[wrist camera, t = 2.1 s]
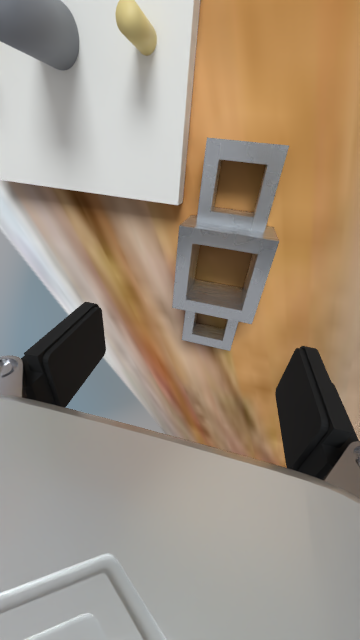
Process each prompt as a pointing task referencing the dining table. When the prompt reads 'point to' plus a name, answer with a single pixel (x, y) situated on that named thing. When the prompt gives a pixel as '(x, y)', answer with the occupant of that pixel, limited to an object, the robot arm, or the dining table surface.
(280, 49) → the dining table surface
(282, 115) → the dining table surface
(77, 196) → the dining table surface
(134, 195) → the post block
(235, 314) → the bracket
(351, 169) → the dining table surface
